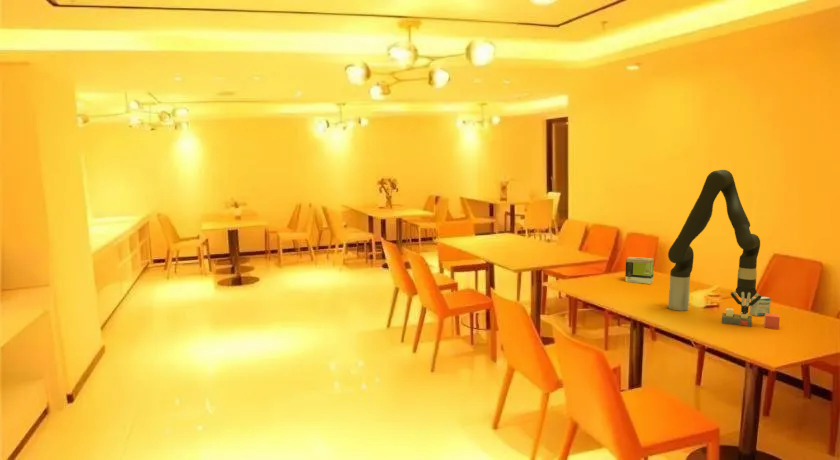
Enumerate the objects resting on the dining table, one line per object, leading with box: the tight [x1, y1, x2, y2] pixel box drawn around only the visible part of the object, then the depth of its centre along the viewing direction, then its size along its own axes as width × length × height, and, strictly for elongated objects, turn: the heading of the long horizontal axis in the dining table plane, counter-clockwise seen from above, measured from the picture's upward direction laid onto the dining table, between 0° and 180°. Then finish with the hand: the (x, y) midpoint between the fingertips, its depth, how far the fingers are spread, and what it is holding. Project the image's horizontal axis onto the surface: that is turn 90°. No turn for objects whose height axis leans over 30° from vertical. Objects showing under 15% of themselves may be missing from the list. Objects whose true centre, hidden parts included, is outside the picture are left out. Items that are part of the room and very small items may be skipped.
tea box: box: [624, 256, 655, 285], centre depth 350 cm, size 15×10×15 cm
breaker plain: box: [725, 307, 734, 317], centre depth 265 cm, size 3×3×4 cm
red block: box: [763, 312, 780, 330], centre depth 257 cm, size 5×5×6 cm
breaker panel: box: [721, 312, 753, 327], centre depth 264 cm, size 12×8×3 cm
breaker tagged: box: [739, 312, 749, 319], centre depth 263 cm, size 3×3×4 cm
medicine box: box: [749, 296, 772, 317], centre depth 276 cm, size 8×4×9 cm, turn 105°
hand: (744, 313), depth 262 cm, fingers closed
